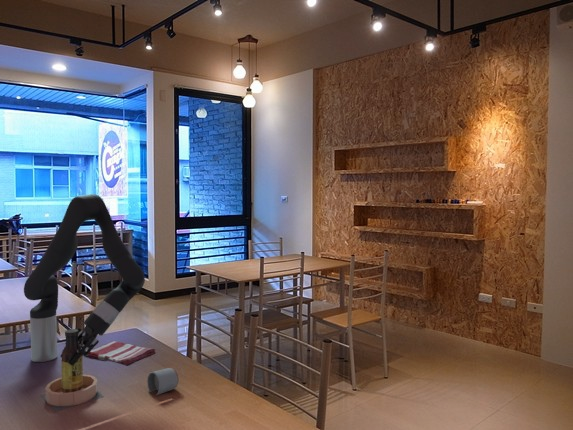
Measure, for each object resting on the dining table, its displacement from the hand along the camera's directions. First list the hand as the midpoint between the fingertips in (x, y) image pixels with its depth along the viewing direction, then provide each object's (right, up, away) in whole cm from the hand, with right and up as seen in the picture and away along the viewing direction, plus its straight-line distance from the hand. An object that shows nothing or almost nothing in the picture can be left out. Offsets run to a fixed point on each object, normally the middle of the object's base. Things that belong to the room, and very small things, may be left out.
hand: (66, 361), depth 152 cm
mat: (+1, -13, +2) cm, 13 cm away
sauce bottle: (+1, -10, +2) cm, 11 cm away
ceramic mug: (+28, -13, +8) cm, 32 cm away
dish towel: (+2, -11, +42) cm, 43 cm away
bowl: (+1, -12, +2) cm, 12 cm away
